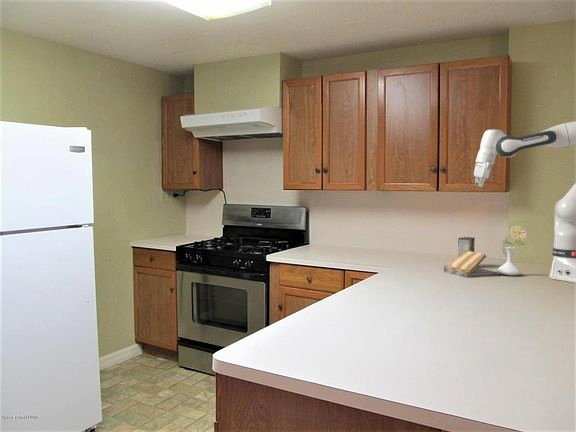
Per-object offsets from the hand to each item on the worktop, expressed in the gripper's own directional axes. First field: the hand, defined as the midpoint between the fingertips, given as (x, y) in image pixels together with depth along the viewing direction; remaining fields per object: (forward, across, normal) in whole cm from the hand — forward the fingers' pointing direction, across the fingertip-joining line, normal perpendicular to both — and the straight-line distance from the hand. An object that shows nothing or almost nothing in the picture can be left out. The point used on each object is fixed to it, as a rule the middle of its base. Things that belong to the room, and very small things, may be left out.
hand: (478, 186), depth 245 cm
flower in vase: (+40, -11, -24) cm, 48 cm away
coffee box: (+45, +9, -7) cm, 46 cm away
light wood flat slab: (+38, -12, -3) cm, 40 cm away
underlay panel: (+44, -12, -5) cm, 45 cm away
